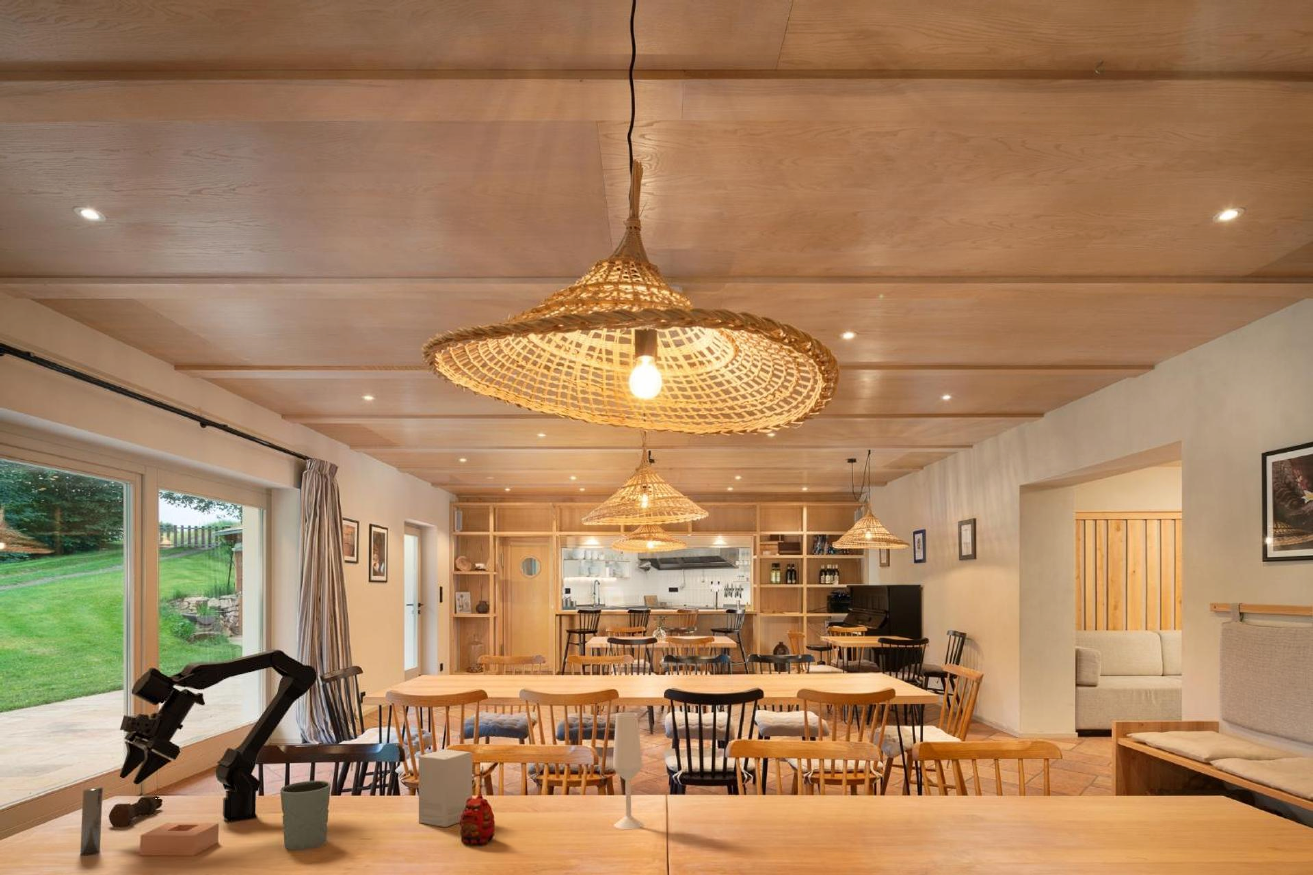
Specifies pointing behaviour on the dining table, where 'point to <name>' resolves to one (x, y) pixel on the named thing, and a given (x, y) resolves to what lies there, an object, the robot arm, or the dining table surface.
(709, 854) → the dining table surface
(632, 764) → the champagne flute
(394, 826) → the dining table surface
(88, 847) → the peg
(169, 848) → the socket block
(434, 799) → the supplement box
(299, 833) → the green cup
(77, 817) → the dining table surface
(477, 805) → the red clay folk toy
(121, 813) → the bolt
